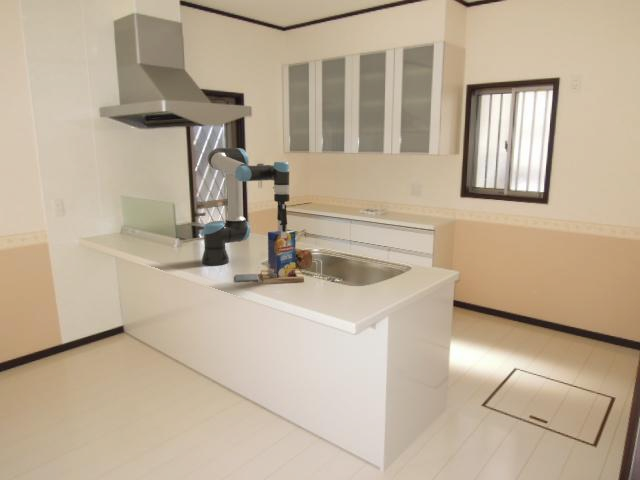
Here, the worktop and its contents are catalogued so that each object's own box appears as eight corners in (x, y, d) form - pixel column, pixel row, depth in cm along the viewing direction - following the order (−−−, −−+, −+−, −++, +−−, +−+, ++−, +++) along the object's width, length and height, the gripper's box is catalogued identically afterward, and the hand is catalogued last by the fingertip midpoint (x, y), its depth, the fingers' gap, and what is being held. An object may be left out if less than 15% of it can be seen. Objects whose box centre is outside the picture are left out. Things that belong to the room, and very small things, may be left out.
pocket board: (261, 273, 241) (261, 270, 241) (298, 272, 245) (298, 268, 245) (263, 283, 224) (263, 279, 224) (304, 281, 228) (304, 277, 228)
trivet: (235, 276, 236) (235, 274, 236) (256, 275, 238) (256, 273, 238) (235, 282, 226) (235, 280, 225) (258, 281, 228) (258, 279, 228)
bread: (312, 266, 257) (313, 249, 255) (300, 270, 249) (300, 252, 247) (287, 261, 268) (287, 244, 266) (275, 265, 260) (275, 248, 258)
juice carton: (277, 281, 228) (277, 234, 223) (268, 278, 233) (267, 232, 228) (295, 277, 236) (295, 231, 231) (286, 274, 241) (286, 229, 236)
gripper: (271, 191, 237) (272, 231, 241) (276, 195, 213) (277, 240, 217) (286, 191, 239) (286, 231, 243) (292, 195, 215) (293, 240, 219)
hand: (282, 235), depth 230 cm, fingers open, 13 cm apart
